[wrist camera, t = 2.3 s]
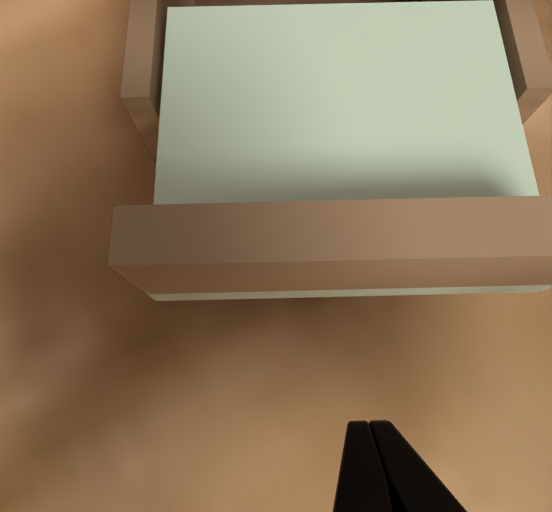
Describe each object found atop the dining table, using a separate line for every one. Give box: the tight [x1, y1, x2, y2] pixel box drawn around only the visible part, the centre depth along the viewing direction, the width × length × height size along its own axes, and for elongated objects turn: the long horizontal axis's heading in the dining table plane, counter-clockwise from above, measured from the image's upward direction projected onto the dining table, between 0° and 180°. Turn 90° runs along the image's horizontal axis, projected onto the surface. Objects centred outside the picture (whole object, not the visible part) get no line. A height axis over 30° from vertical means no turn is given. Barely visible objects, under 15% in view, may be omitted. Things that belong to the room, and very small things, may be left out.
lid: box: [107, 0, 552, 301], centre depth 10 cm, size 9×10×3 cm
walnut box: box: [120, 0, 552, 163], centre depth 17 cm, size 10×12×8 cm
